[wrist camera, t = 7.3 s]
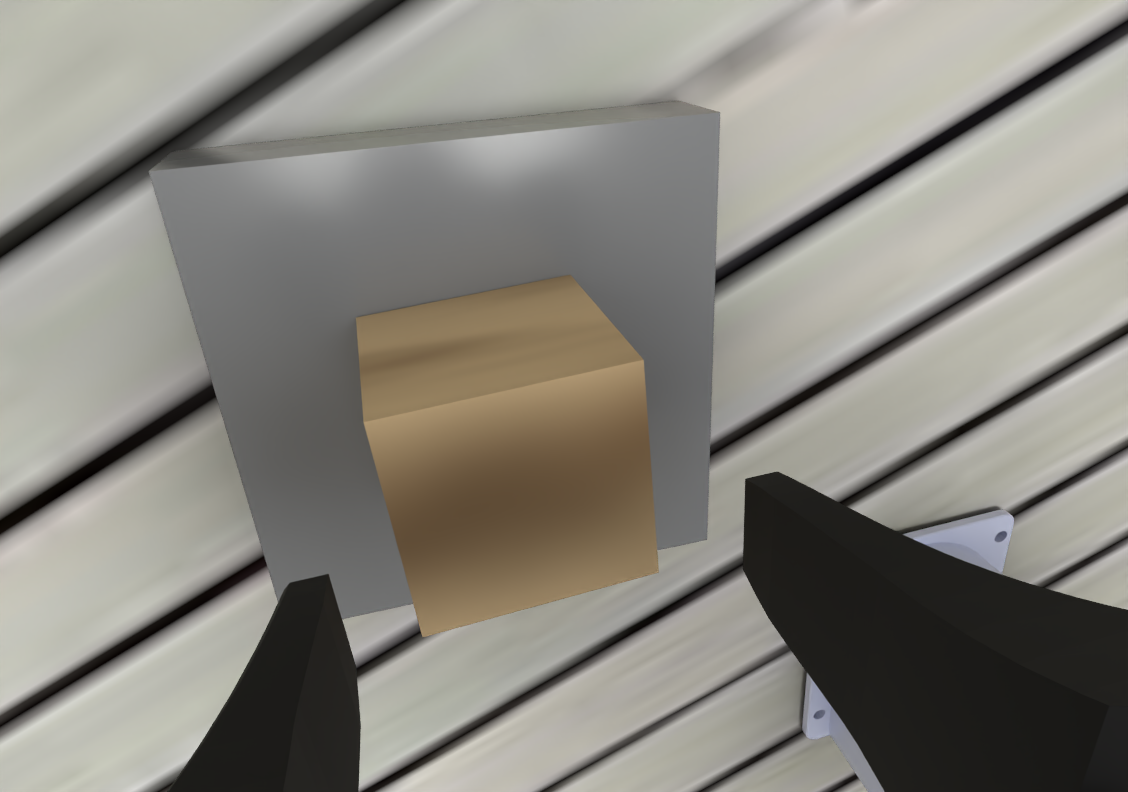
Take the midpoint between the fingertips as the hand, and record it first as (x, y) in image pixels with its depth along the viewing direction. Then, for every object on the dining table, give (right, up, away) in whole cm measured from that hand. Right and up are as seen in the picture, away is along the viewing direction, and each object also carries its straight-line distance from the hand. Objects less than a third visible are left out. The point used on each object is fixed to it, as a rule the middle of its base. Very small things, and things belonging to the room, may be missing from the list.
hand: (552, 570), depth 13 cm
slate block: (-3, +4, +9) cm, 10 cm away
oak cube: (-2, +3, +6) cm, 7 cm away
